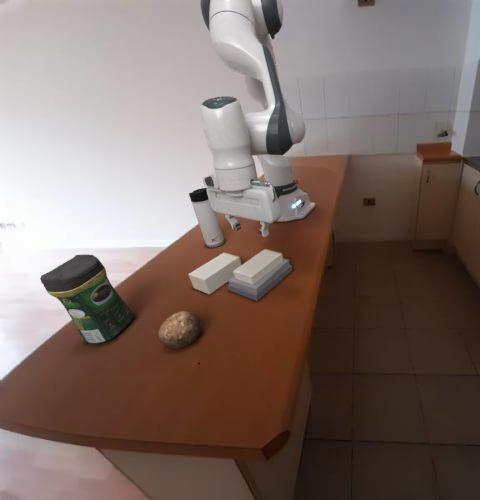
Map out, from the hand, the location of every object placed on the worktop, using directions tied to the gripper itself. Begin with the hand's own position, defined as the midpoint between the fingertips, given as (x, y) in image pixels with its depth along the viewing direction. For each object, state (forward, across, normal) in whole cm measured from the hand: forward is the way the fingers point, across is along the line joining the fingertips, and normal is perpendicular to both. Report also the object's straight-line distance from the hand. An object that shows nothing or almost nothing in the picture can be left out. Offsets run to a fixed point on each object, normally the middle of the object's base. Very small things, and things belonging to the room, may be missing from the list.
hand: (250, 232), depth 70 cm
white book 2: (+15, +12, +5) cm, 20 cm away
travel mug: (+15, +31, -10) cm, 36 cm away
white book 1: (+13, +12, +5) cm, 18 cm away
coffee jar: (+16, +20, +30) cm, 39 cm away
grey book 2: (+15, 0, 0) cm, 15 cm away
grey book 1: (+13, 0, 0) cm, 13 cm away
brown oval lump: (+15, +1, +24) cm, 28 cm away
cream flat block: (+12, 0, 0) cm, 12 cm away
